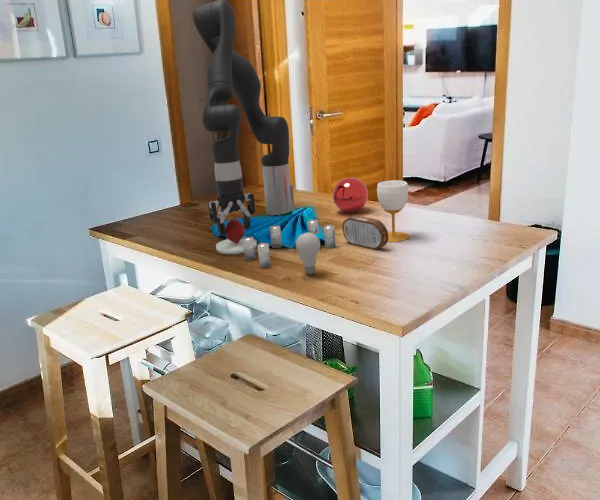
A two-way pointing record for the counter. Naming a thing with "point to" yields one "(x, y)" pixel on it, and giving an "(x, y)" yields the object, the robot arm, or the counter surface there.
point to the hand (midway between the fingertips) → (234, 231)
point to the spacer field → (276, 242)
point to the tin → (365, 232)
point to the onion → (234, 230)
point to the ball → (350, 195)
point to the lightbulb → (308, 250)
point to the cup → (393, 203)
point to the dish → (231, 247)
